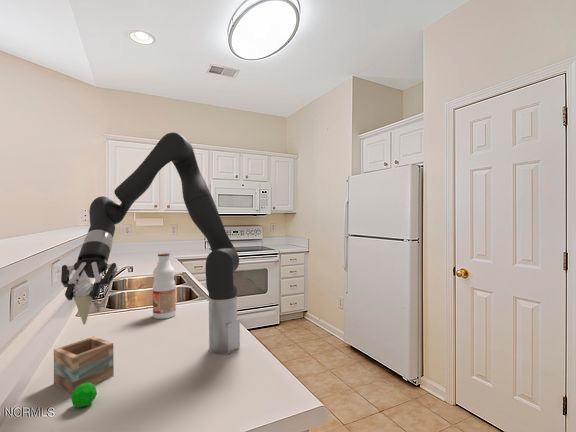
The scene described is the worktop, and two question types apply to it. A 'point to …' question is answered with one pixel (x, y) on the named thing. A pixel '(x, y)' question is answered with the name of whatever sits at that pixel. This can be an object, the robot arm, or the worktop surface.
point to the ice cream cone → (83, 296)
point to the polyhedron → (83, 395)
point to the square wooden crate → (83, 363)
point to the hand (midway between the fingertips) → (81, 297)
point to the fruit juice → (164, 288)
